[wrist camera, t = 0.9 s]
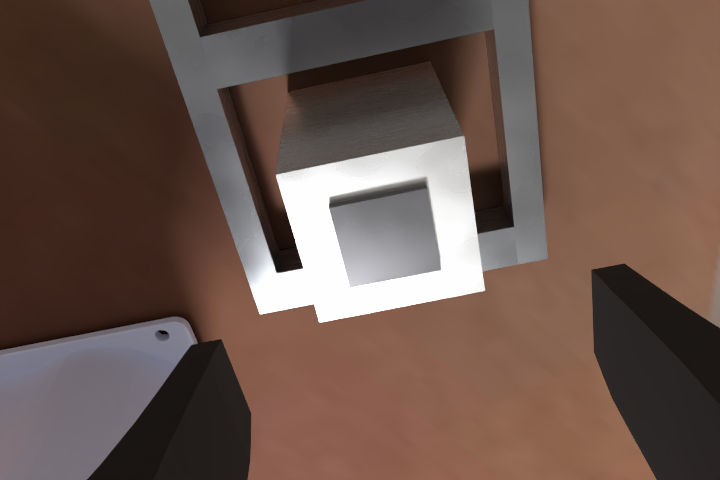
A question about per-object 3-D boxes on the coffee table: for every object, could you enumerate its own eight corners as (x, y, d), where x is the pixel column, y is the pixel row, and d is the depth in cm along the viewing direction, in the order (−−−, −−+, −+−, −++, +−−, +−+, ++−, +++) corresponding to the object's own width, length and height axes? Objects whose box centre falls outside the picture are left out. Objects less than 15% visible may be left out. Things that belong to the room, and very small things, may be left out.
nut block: (321, 215, 24) (319, 326, 18) (287, 91, 21) (274, 178, 16) (449, 188, 23) (486, 295, 18) (430, 61, 21) (465, 139, 16)
